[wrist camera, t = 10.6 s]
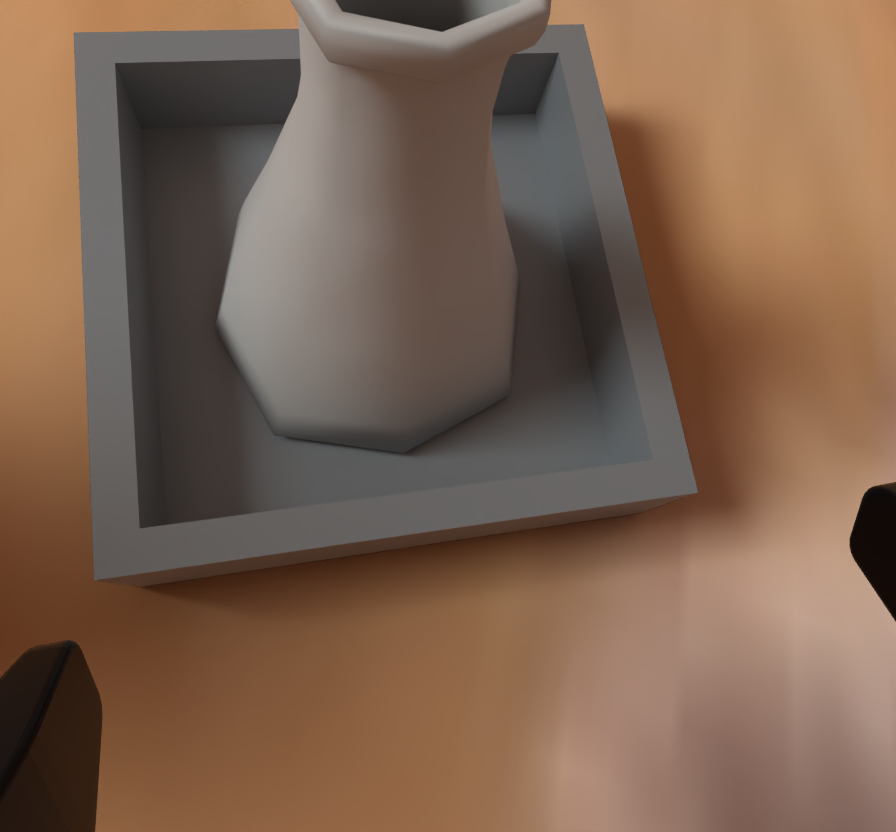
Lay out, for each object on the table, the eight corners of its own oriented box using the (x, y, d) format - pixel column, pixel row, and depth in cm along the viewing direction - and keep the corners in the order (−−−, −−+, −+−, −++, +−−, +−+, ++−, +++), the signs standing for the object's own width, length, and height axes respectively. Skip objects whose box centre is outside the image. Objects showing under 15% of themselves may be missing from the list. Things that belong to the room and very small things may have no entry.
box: (138, 587, 16) (94, 580, 13) (114, 123, 18) (73, 32, 16) (639, 513, 18) (698, 492, 15) (549, 107, 20) (583, 24, 18)
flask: (553, 428, 17) (826, 189, 8) (239, 485, 16) (86, 277, 6) (485, 161, 19) (637, -310, 9) (195, 191, 17) (22, -329, 8)
